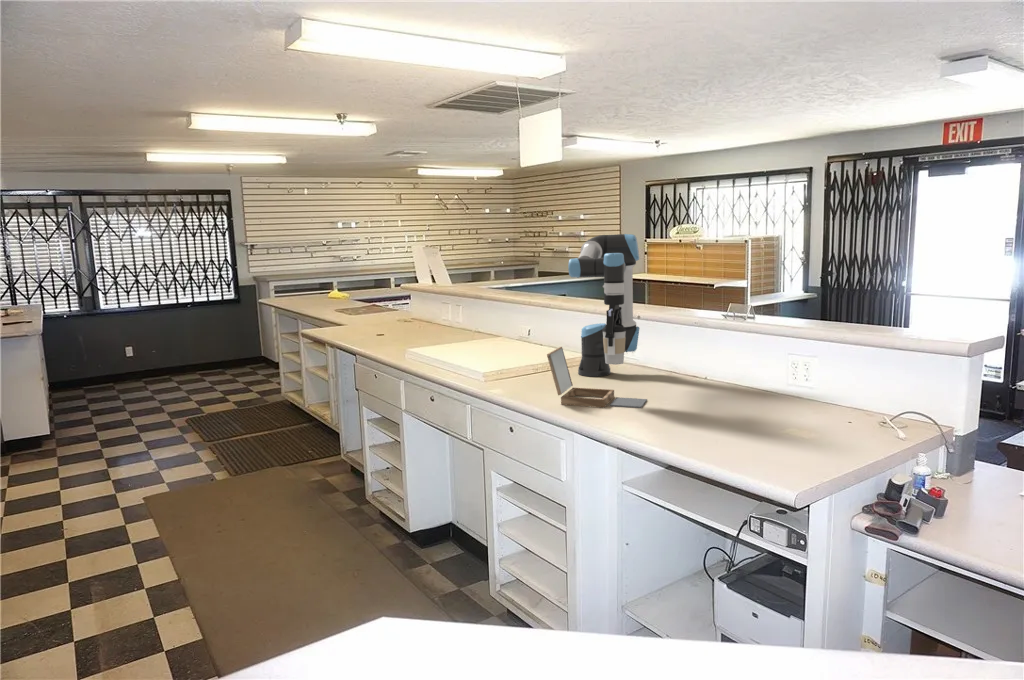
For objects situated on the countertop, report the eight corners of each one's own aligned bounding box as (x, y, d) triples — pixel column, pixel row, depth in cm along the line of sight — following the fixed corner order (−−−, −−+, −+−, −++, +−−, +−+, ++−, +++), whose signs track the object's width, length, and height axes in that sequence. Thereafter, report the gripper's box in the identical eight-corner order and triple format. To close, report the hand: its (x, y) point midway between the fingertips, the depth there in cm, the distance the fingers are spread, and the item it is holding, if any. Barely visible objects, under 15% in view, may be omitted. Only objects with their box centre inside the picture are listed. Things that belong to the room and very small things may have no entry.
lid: (572, 385, 271) (570, 385, 272) (562, 346, 270) (559, 347, 271) (560, 394, 256) (558, 395, 256) (549, 353, 255) (546, 354, 255)
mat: (616, 398, 263) (616, 397, 263) (646, 400, 258) (646, 399, 258) (609, 406, 252) (609, 404, 252) (641, 408, 247) (641, 406, 247)
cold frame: (573, 394, 272) (573, 387, 271) (614, 397, 266) (614, 389, 265) (561, 404, 256) (560, 397, 256) (604, 407, 250) (604, 399, 250)
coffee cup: (618, 365, 248) (618, 326, 246) (598, 363, 254) (597, 324, 251) (630, 362, 255) (630, 323, 253) (610, 359, 261) (609, 322, 258)
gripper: (611, 291, 262) (611, 347, 265) (596, 296, 242) (597, 357, 245) (630, 291, 259) (630, 348, 262) (616, 296, 239) (617, 358, 242)
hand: (614, 352), depth 254 cm, fingers closed on coffee cup, 9 cm apart
